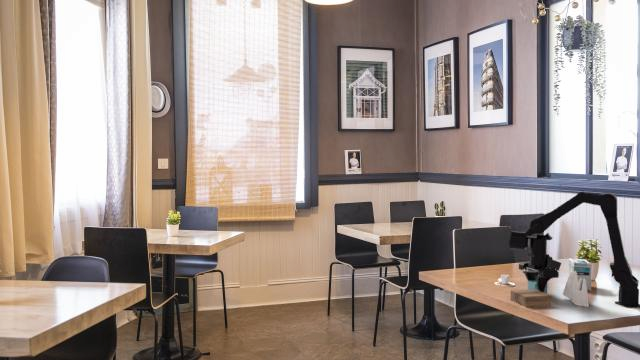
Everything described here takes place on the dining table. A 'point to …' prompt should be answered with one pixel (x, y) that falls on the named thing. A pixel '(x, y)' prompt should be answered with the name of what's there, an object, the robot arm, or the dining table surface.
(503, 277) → the teacup and saucer
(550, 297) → the walnut block
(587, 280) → the light bulb box
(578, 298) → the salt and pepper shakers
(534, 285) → the teal cube
